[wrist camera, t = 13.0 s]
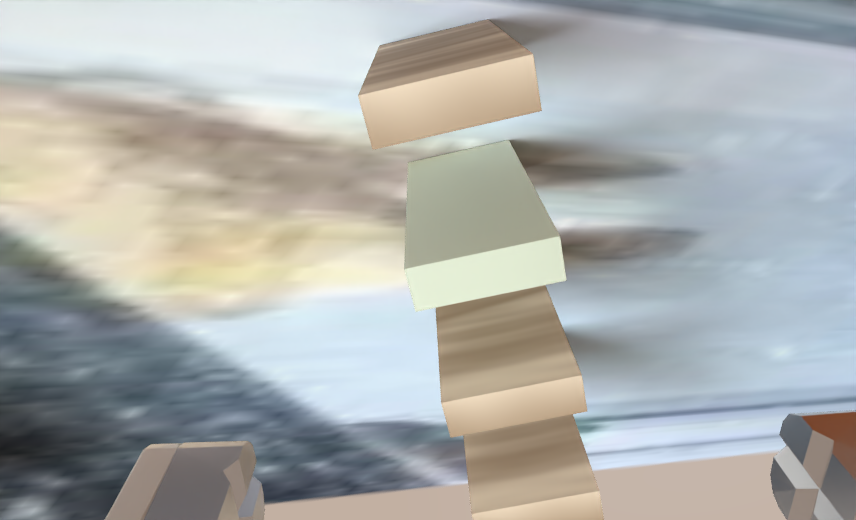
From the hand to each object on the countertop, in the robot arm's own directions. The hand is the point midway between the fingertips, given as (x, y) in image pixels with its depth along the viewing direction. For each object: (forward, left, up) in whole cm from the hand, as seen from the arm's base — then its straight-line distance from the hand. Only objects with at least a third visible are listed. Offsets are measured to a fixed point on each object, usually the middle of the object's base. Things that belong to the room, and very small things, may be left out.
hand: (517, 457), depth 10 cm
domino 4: (+13, 0, -23) cm, 26 cm away
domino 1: (-3, 0, -23) cm, 23 cm away
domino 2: (+2, 0, -23) cm, 23 cm away
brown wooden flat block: (+8, 0, -23) cm, 24 cm away
